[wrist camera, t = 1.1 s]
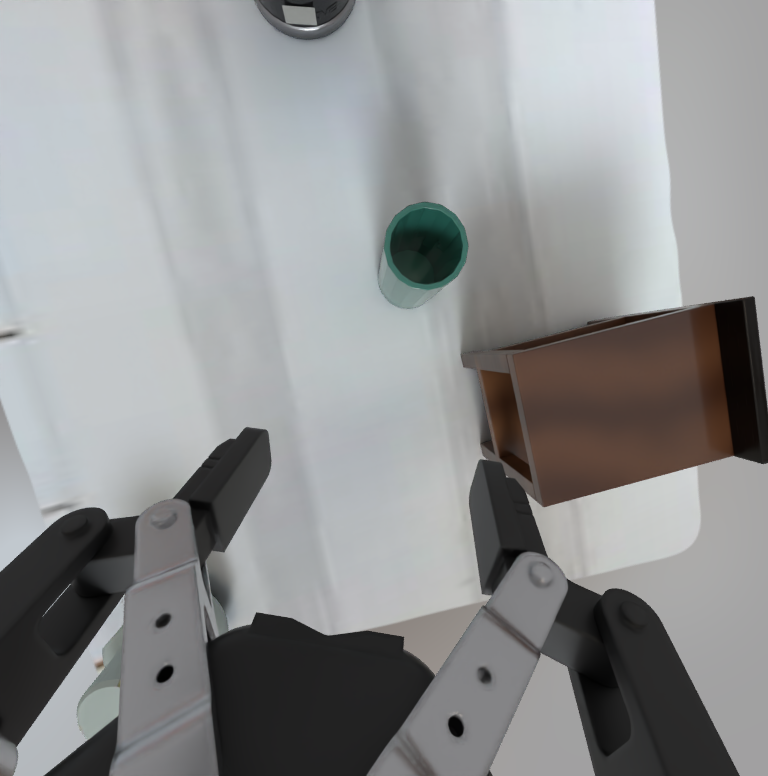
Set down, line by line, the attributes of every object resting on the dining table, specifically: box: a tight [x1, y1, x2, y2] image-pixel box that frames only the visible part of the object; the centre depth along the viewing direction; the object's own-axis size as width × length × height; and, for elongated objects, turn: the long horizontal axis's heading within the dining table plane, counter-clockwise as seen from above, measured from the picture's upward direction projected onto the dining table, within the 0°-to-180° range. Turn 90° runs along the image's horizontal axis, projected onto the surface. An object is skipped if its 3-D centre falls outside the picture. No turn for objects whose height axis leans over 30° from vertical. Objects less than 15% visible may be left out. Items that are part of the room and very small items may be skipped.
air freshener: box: [77, 595, 228, 740], centre depth 30 cm, size 11×8×10 cm
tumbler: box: [378, 202, 468, 309], centre depth 28 cm, size 6×6×10 cm
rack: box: [461, 296, 768, 507], centre depth 28 cm, size 11×15×14 cm
